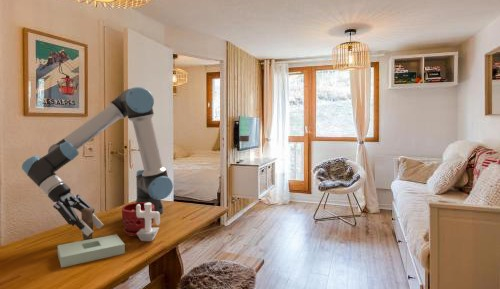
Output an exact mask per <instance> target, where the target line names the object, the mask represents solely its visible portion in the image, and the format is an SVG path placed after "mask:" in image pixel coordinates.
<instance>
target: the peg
mask: <svg viewBox="0 0 500 289" xmlns="http://www.w3.org/2000/svg"><path fill="white" fill-rule="evenodd" d="M93 208H94V207H93ZM93 208H84V209H81V212H80V213H81V214H80V215H81V219H82V220H83V221H84V222H85V223H86V224H87V225H88V226H89V227H90V228H91V229H92V231H93V232H92V233H91V234H90V235H89V236H86V235H85V234H84V232H83V231H82V230H81V232H80V234H81V236H82V241H83V240H89V239H93V234H94V224H93Z"/></svg>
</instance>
